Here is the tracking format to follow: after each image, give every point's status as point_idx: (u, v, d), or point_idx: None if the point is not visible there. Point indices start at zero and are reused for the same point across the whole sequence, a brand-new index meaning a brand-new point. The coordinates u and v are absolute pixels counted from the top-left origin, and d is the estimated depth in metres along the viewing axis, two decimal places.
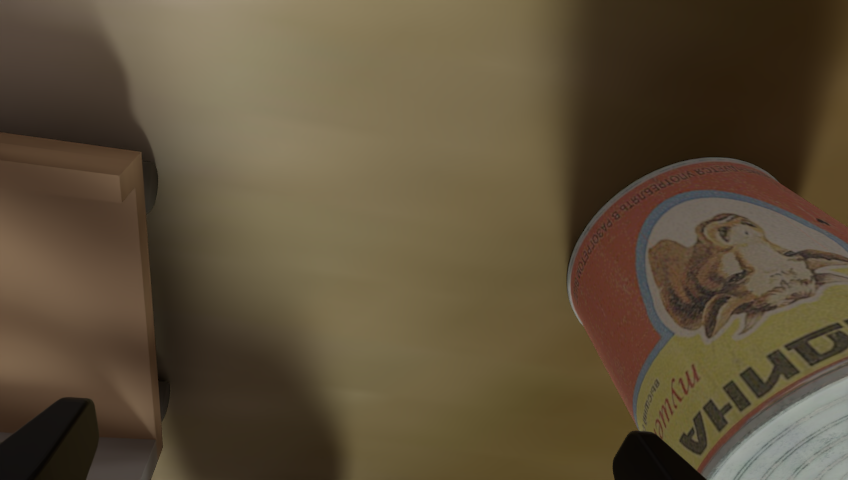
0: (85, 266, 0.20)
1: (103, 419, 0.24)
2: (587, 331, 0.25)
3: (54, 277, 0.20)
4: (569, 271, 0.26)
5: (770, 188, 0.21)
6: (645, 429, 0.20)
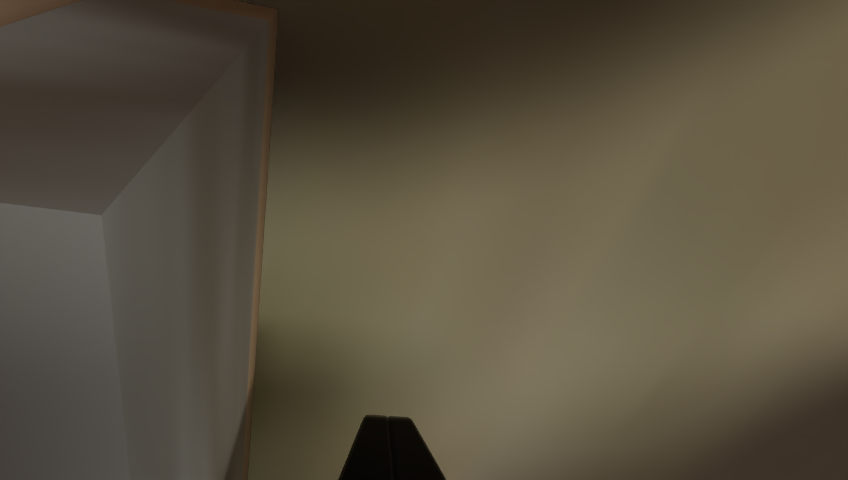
0: None
1: None
2: None
3: None
4: None
5: None
6: None
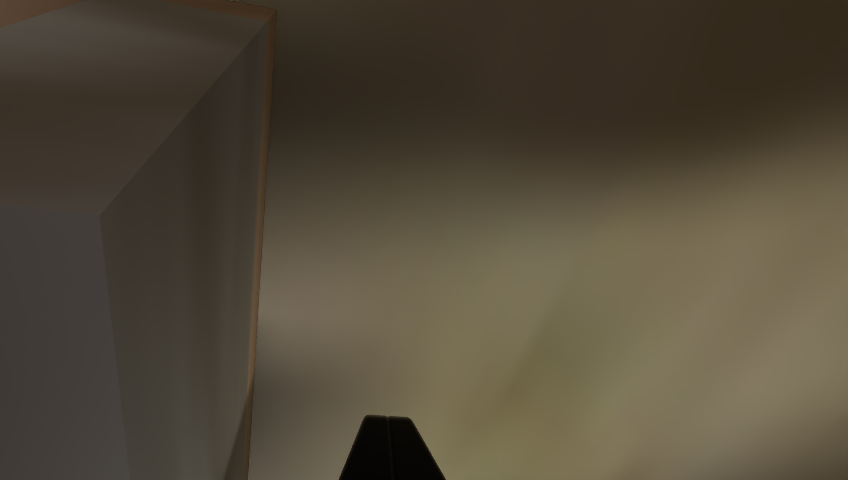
0: None
1: None
2: None
3: None
4: None
5: None
6: None
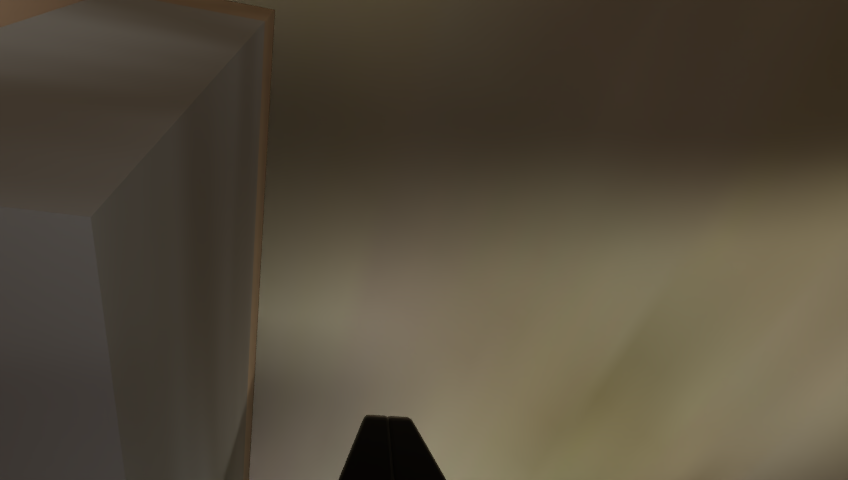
0: None
1: None
2: None
3: None
4: None
5: None
6: None
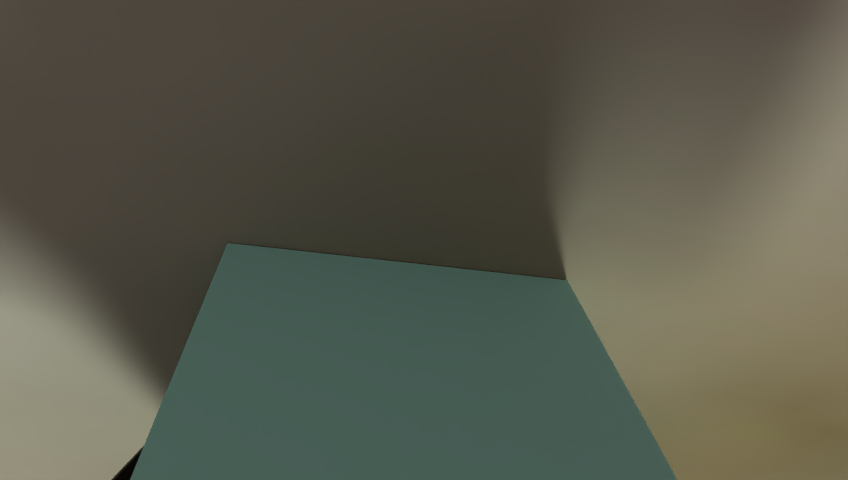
0: None
1: None
2: None
3: None
4: None
5: None
6: None
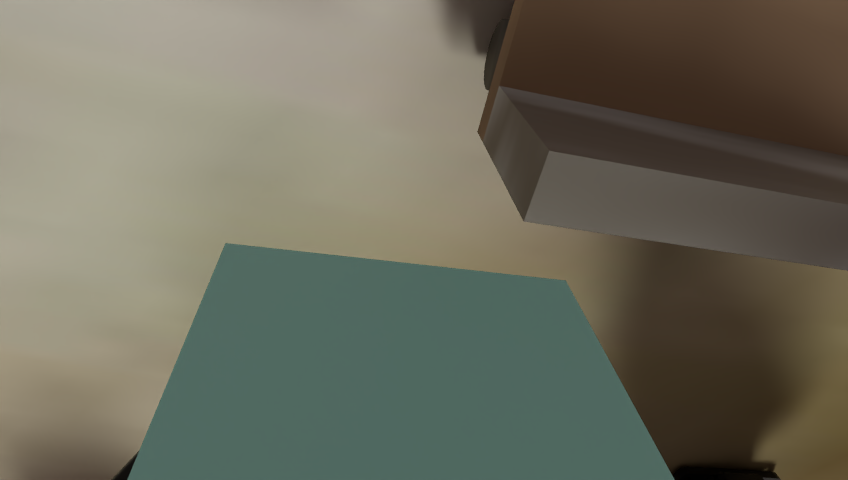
0: None
1: (831, 108, 0.15)
2: None
3: None
4: None
5: None
6: None
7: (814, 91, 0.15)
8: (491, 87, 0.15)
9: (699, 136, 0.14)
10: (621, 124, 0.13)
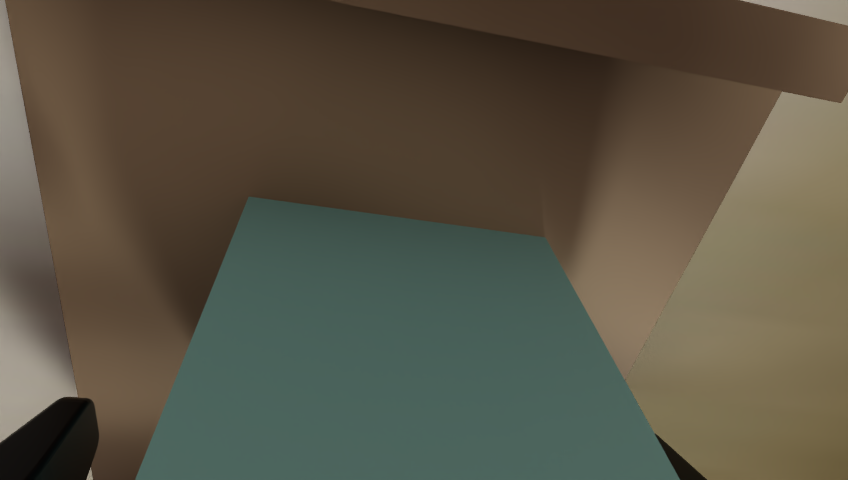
0: (602, 247, 0.10)
1: None
2: None
3: None
4: None
5: None
6: None
7: None
8: None
9: None
10: None
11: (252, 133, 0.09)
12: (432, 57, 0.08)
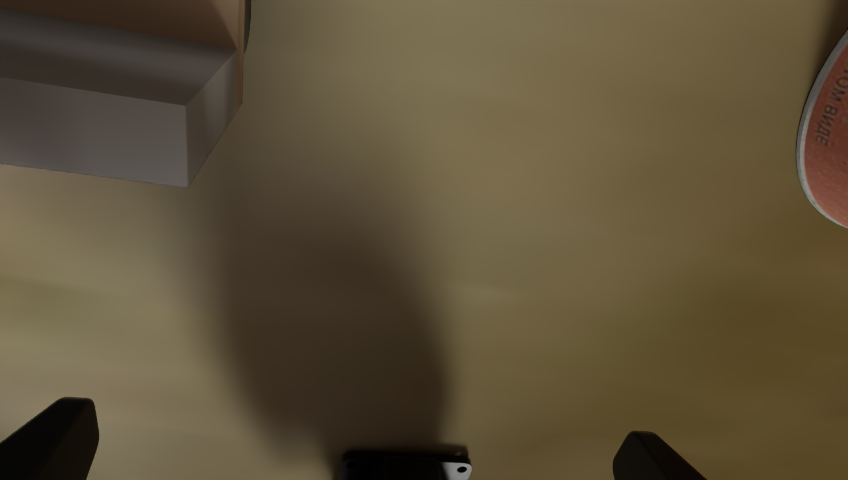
0: None
1: None
2: (843, 181, 0.18)
3: None
4: (811, 101, 0.18)
5: None
6: None
7: None
8: None
9: None
10: None
11: None
12: None
